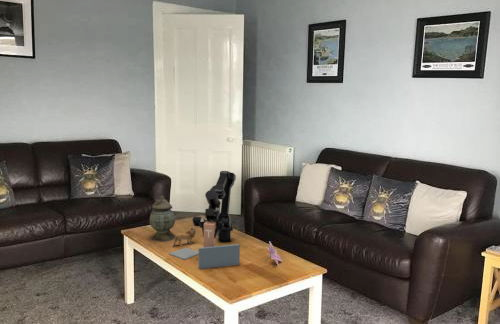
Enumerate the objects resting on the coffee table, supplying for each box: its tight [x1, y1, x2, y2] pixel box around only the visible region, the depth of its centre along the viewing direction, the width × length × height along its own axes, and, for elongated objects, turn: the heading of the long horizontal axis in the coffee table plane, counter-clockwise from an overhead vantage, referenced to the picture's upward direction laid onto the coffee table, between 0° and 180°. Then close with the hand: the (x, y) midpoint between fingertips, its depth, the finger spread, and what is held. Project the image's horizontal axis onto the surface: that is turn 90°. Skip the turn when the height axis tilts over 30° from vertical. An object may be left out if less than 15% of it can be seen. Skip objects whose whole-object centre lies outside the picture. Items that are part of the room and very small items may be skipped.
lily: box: [264, 241, 283, 266], centre depth 227 cm, size 12×12×10 cm
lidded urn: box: [149, 195, 176, 242], centre depth 262 cm, size 14×14×25 cm
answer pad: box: [168, 247, 199, 261], centre depth 238 cm, size 12×12×1 cm
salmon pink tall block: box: [203, 221, 217, 247], centre depth 226 cm, size 5×5×14 cm
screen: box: [198, 243, 241, 270], centre depth 221 cm, size 20×2×10 cm, turn 107°
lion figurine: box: [172, 226, 197, 247], centre depth 252 cm, size 15×5×9 cm, turn 132°
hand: (209, 237), depth 225 cm, fingers closed on salmon pink tall block, 5 cm apart
